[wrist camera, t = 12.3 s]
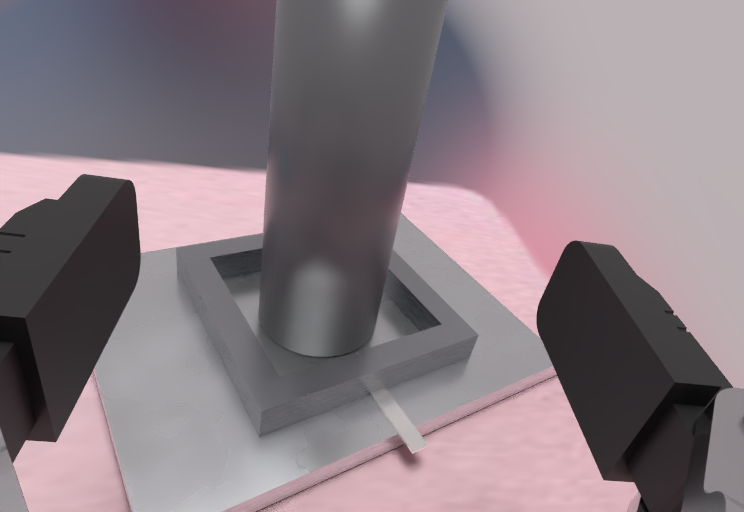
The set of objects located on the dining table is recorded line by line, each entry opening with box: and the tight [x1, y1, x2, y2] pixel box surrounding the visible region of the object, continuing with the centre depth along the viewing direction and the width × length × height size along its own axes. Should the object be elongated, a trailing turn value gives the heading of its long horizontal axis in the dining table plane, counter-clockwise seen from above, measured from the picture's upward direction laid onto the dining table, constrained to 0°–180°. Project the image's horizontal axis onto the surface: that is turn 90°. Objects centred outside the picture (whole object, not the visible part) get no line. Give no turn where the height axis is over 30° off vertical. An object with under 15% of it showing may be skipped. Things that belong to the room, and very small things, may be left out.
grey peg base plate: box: [93, 214, 557, 512], centre depth 21 cm, size 16×13×2 cm
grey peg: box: [258, 0, 448, 357], centre depth 17 cm, size 5×5×13 cm
